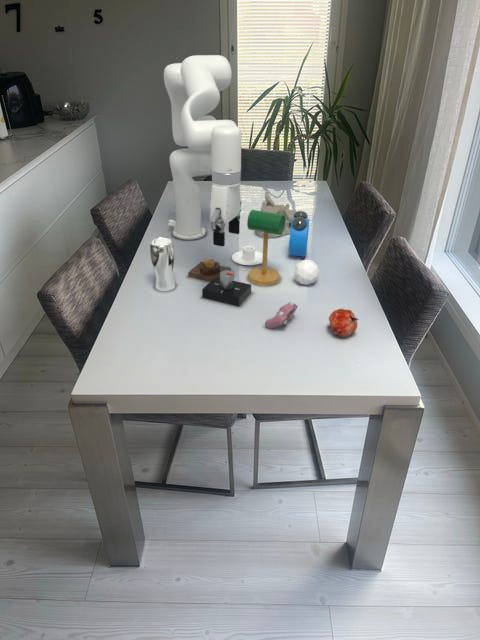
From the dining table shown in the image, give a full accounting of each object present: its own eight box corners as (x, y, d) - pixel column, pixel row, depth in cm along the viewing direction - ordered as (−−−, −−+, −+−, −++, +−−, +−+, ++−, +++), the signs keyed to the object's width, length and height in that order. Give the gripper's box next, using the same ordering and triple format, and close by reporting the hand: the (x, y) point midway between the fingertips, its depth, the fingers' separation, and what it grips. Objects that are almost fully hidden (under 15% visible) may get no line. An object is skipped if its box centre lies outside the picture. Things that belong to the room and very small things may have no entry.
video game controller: (275, 336, 123) (287, 320, 118) (262, 325, 124) (273, 309, 119) (291, 319, 130) (303, 304, 125) (279, 309, 131) (290, 293, 126)
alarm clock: (305, 263, 157) (309, 221, 149) (287, 261, 158) (290, 220, 150) (306, 247, 168) (310, 208, 160) (290, 246, 169) (292, 207, 161)
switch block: (188, 276, 148) (187, 267, 146) (201, 265, 155) (201, 256, 153) (218, 284, 144) (218, 274, 143) (231, 272, 151) (231, 262, 149)
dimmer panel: (202, 298, 137) (202, 288, 135) (216, 285, 144) (215, 276, 142) (238, 307, 133) (239, 297, 131) (251, 293, 140) (251, 284, 138)
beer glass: (158, 294, 139) (153, 248, 130) (150, 284, 144) (146, 239, 136) (179, 289, 141) (176, 243, 133) (171, 279, 147) (168, 235, 138)
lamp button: (202, 267, 147) (201, 262, 146) (207, 262, 150) (207, 257, 149) (212, 269, 146) (211, 264, 145) (217, 264, 149) (217, 259, 148)
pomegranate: (322, 341, 123) (348, 336, 114) (316, 314, 123) (341, 308, 114) (343, 335, 127) (369, 330, 118) (336, 310, 127) (362, 303, 118)
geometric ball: (309, 292, 146) (317, 282, 138) (287, 281, 146) (293, 270, 139) (318, 274, 149) (326, 262, 141) (296, 263, 149) (303, 251, 141)
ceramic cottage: (251, 235, 177) (255, 197, 169) (260, 222, 191) (264, 186, 183) (291, 242, 174) (297, 203, 167) (297, 228, 188) (303, 191, 180)
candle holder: (248, 249, 167) (249, 238, 164) (273, 259, 160) (274, 248, 157) (224, 259, 160) (224, 247, 157) (249, 270, 153) (249, 258, 150)
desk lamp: (243, 282, 146) (244, 215, 134) (255, 269, 153) (257, 205, 141) (272, 288, 142) (276, 220, 130) (283, 275, 150) (288, 210, 138)
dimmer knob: (217, 288, 136) (217, 273, 133) (223, 282, 139) (223, 268, 136) (230, 291, 134) (230, 276, 132) (235, 285, 138) (236, 270, 135)
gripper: (227, 167, 127) (228, 226, 136) (197, 184, 114) (200, 248, 123) (252, 171, 124) (251, 230, 134) (224, 188, 111) (225, 253, 120)
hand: (226, 239), depth 128 cm, fingers open, 9 cm apart
